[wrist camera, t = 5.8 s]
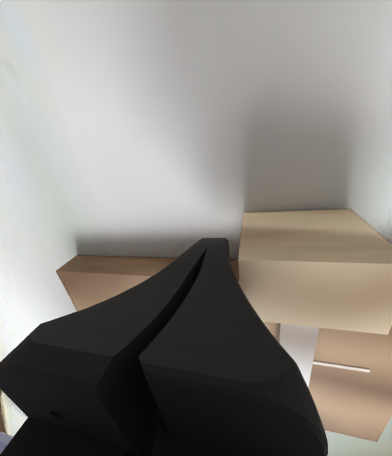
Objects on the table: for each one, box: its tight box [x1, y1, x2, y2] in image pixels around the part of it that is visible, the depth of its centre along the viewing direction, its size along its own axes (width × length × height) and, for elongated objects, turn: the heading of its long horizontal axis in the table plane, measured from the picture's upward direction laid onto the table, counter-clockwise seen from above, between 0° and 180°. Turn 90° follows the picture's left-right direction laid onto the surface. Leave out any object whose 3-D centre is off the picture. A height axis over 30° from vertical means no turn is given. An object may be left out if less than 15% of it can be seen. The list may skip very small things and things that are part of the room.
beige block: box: [238, 209, 392, 387], centre depth 10 cm, size 10×5×4 cm, turn 8°
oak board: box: [56, 255, 392, 442], centre depth 15 cm, size 14×22×2 cm, turn 98°
